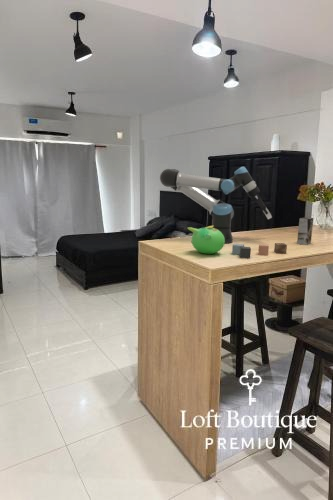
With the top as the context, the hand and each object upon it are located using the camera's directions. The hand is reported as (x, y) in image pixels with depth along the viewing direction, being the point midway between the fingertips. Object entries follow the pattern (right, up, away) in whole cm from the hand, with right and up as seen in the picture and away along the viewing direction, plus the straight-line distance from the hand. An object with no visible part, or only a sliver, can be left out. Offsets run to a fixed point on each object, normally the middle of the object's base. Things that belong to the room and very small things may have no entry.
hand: (269, 217), depth 221 cm
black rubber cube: (-26, -25, -44) cm, 56 cm away
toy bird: (-45, -23, -37) cm, 62 cm away
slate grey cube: (-28, -23, -36) cm, 51 cm away
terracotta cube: (-14, -23, -36) cm, 45 cm away
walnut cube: (-4, -22, -31) cm, 39 cm away
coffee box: (+21, -17, -2) cm, 27 cm away
